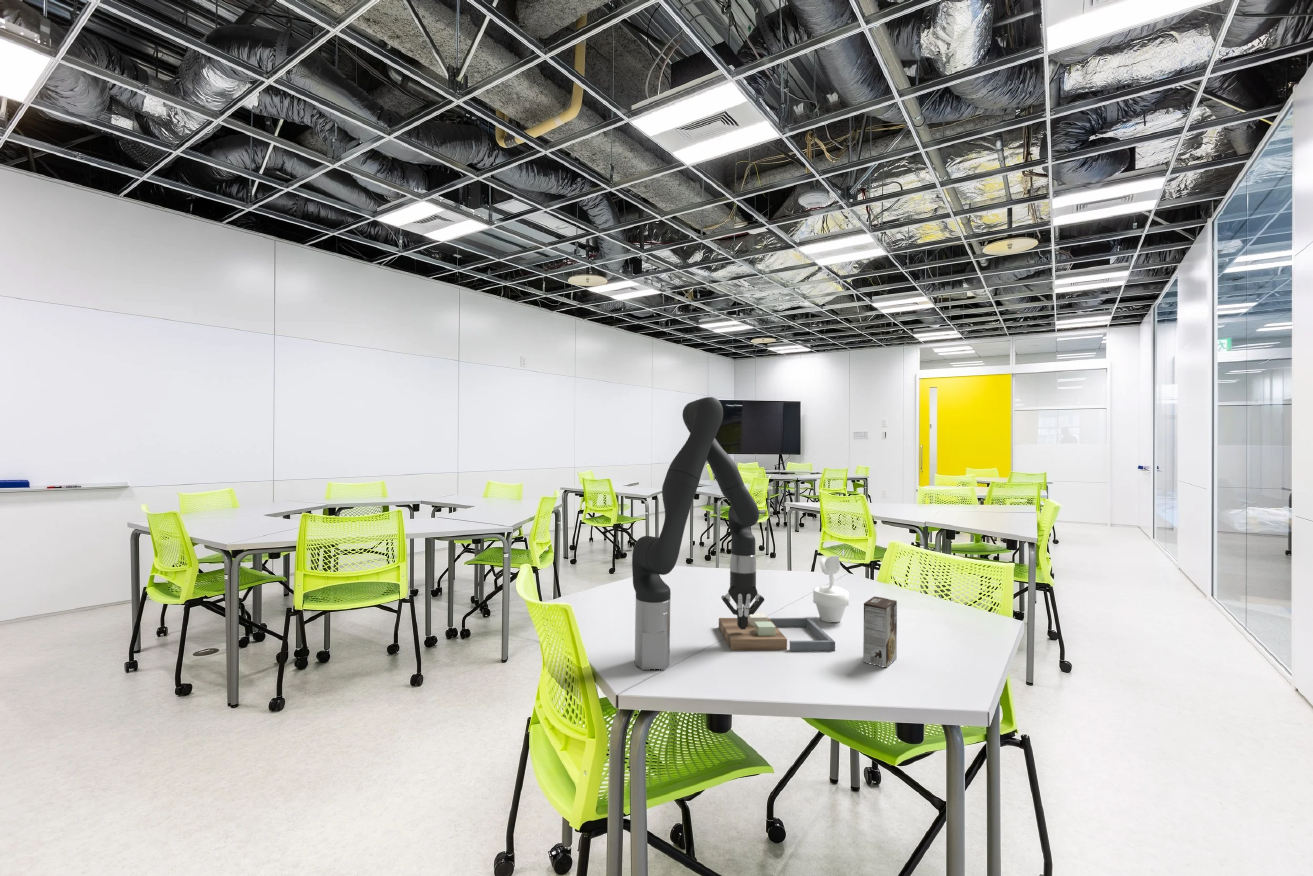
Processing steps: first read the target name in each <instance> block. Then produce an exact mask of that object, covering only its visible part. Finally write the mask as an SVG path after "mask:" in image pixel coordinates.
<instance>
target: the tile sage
mask: <svg viewBox="0 0 1313 876" xmlns="http://www.w3.org/2000/svg"><path fill="white" fill-rule="evenodd" d="M754 630H755V632H756V633H757V634H758V636H775V634H776V627H775V626H774V625H773V623H772V622H754Z"/></svg>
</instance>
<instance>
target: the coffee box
mask: <svg viewBox="0 0 1313 876" xmlns="http://www.w3.org/2000/svg"><path fill="white" fill-rule="evenodd" d="M897 610H898V602H897V600H895V599H890V598H886V597H881V596H880V597H879V596H873V597H871V598H870V599H868V600H867V601H865V602H864V603H863V643H862V645H863V648H862V649H863V652H862V653H863V655H862V656H863V663H864V662H867V663H871V664H875V665H880V666H884V667H887V666H888V665H889V664H890V663H891V662H892V663H893V662H895V661H896V660H897V655H898V654H897V653H898V651H897V650H898V649H897V644H898V642H897V640H898V638H897V637H898V636H897V633H898V631H897V630H898V624H897V623H898V622H897V619H898V618H897V617H898V616H897V615H898V614H897V613H898V611H897ZM867 663H866V664H867ZM892 663H891V664H892ZM871 664H870V665H871ZM891 664H890V665H891ZM875 665H874V666H875ZM890 665H889V666H890ZM889 666H888V667H889ZM888 667H887V668H888Z"/></svg>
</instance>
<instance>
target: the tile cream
mask: <svg viewBox="0 0 1313 876" xmlns="http://www.w3.org/2000/svg"><path fill="white" fill-rule="evenodd" d="M767 618H768V616H767V615H766V614H765V613H764V612H755V613H754V614H753V615H752V614H751V615H749V616H748V622H749V624H750V625H751V626H754V622H767Z"/></svg>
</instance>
